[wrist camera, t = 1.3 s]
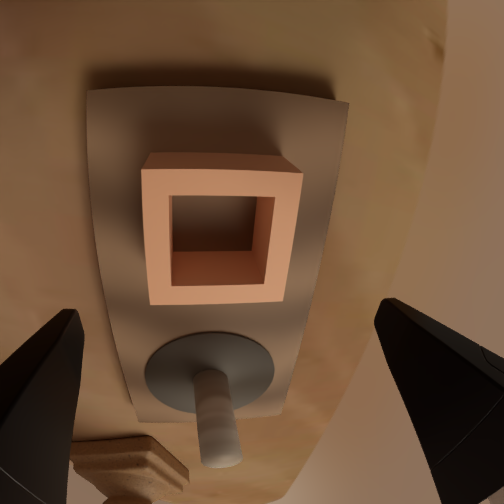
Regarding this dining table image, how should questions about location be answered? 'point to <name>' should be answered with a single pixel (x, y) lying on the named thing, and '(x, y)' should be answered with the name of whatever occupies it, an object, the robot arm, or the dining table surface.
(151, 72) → the dining table surface
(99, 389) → the dining table surface
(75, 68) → the dining table surface
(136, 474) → the candle holder
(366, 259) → the dining table surface
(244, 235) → the post board
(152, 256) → the collar
